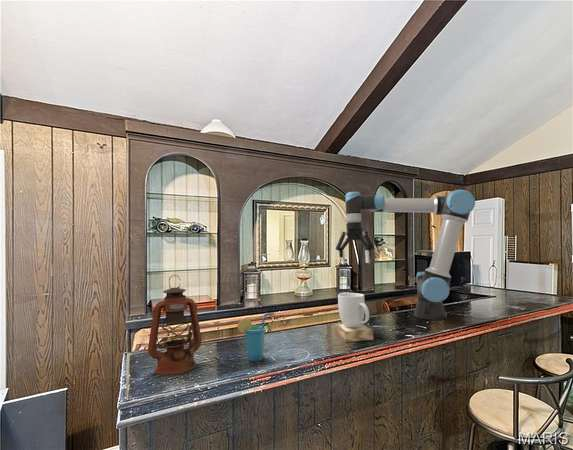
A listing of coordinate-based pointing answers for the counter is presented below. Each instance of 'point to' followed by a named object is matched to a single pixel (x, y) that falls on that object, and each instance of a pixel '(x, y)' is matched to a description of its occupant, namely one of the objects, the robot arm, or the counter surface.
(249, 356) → the cup
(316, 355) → the counter surface
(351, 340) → the pedestal
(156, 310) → the lantern
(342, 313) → the mug
